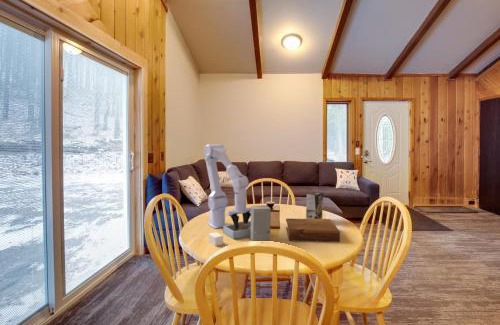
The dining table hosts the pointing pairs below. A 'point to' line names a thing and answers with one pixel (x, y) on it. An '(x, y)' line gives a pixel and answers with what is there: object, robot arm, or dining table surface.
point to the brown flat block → (312, 230)
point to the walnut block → (241, 226)
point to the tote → (237, 234)
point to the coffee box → (314, 205)
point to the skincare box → (260, 223)
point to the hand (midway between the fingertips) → (240, 227)
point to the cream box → (216, 239)
